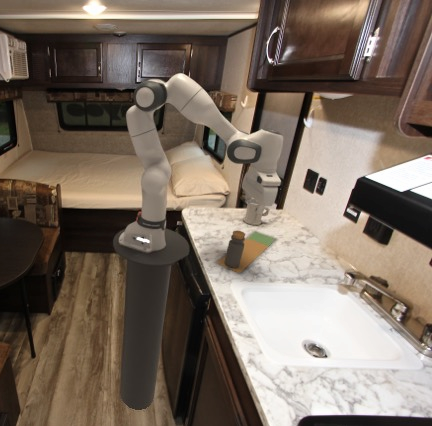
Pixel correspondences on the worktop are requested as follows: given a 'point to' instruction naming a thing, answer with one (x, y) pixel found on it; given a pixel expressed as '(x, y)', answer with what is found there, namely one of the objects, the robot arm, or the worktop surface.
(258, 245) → the plate
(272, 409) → the worktop surface
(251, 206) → the cup
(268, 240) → the pad
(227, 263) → the bottle
